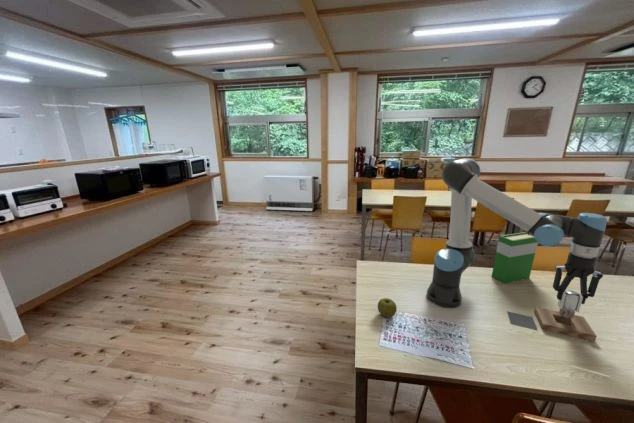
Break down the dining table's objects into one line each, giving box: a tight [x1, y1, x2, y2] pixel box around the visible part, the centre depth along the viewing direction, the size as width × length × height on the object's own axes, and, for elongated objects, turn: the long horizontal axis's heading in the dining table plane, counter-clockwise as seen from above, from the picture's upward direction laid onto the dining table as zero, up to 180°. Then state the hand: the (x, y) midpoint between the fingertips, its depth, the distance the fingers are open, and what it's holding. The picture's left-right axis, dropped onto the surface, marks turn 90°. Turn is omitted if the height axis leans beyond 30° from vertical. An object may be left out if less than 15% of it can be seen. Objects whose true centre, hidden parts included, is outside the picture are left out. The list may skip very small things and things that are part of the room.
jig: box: [533, 306, 598, 343], centre depth 110 cm, size 16×12×3 cm
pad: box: [506, 310, 539, 331], centre depth 114 cm, size 9×9×1 cm
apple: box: [377, 297, 397, 319], centre depth 117 cm, size 8×8×7 cm
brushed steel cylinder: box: [558, 289, 581, 318], centre depth 107 cm, size 4×4×10 cm
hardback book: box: [491, 231, 539, 284], centre depth 144 cm, size 18×7×24 cm, turn 106°
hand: (567, 308), depth 108 cm, fingers closed on brushed steel cylinder, 4 cm apart
